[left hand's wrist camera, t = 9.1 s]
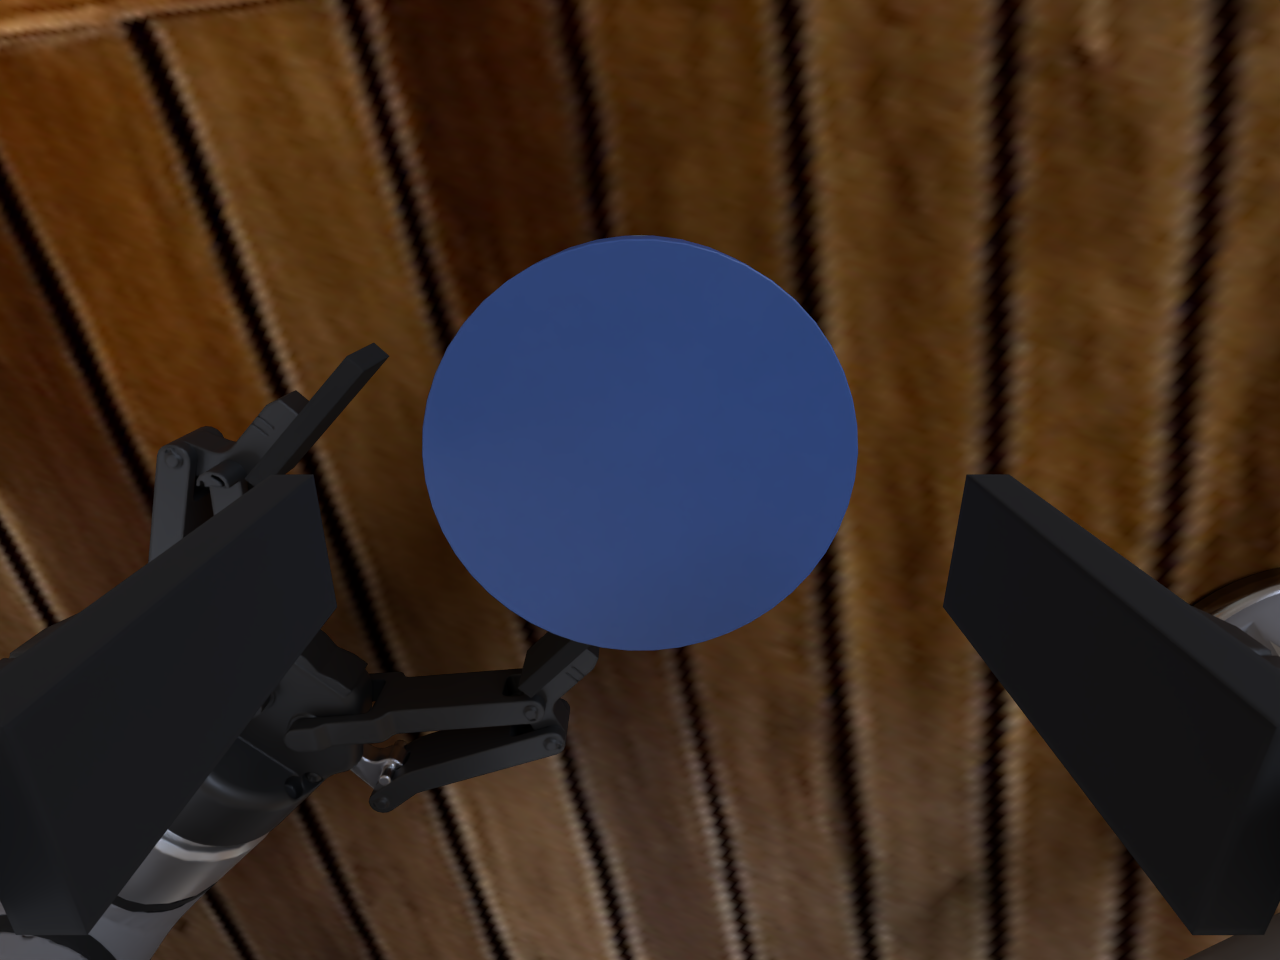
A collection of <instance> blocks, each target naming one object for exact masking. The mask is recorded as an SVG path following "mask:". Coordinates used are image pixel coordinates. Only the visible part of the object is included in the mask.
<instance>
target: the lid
mask: <svg viewBox="0 0 1280 960" xmlns="http://www.w3.org/2000/svg"><path fill="white" fill-rule="evenodd" d="M857 456H858V442H857V422H856V416H855V410H854V404H853V398H852V395H851V392H850V389H849V386H848V383H847V380H846V376H845V373H844V371H843V369H842V367H841V365H840V362H839V360H838V358H837V356H836V354H835V352H834V350H833V348H832V346H831V344H830V343H829V341H828V340H827V339H826V337H825V336H824V334H823V333H822V331H821V330H820V328H819V327H818V325H817V324H816V322H815V321H814V320H813V319H812V318H811V317H810V315H809V314H808V313H807V312H806V311H805V310H804V309H803V308H802V307H801V306H800V304H799V303H798V302H797V301H796V300H795V299H794V298H793V297H791V296H790V295H789V294H788V293H787V292H785V291H784V290H783V289H782V288H781V287H779V286H778V285H777V284H776V283H775V282H773V281H772V280H771V279H769V278H767V277H766V276H764V275H762V274H761V273H759V272H758V271H756V270H754V269H753V268H751V267H749V266H748V265H746V264H744V263H743V262H741V261H739V260H737V259H735V258H733V257H730V256H728V255H726V254H724V253H721V252H719V251H717V250H714V249H712V248H710V247H707V246H703V245H700V244H696V243H692V242H689V241H685V240H682V239H674V238H667V237H659V236H620V237H613V238H606V239H599V240H594V241H591V242H587V243H584V244H581V245H577V246H574V247H570V248H568V249H565V250H563V251H561V252H559V253H556V254H554V255H552V256H550V257H547V258H545V259H543V260H541V261H539V262H537V263H536V264H534V265H532V266H530V267H529V268H527V269H526V270H524V271H522V272H521V273H519V274H518V275H516V276H514V277H513V278H511V279H510V280H508V281H506V282H505V283H504V284H503V285H502V286H501V287H499V288H498V289H497V290H496V291H495V292H493V293H492V294H491V295H490V296H489V297H488V298H486V299H485V300H484V301H483V302H482V303H481V304H480V305H479V307H478V308H477V309H476V310H475V311H474V312H473V313H472V314H471V315H470V317H469V318H468V319H467V320H466V321H465V322H464V323H463V325H462V326H461V328H460V329H459V331H458V332H457V334H456V336H455V337H454V339H453V340H452V342H451V343H450V345H449V346H448V348H447V350H446V352H445V354H444V356H443V358H442V360H441V362H440V365H439V367H438V369H437V371H436V373H435V376H434V379H433V383H432V386H431V389H430V392H429V395H428V399H427V404H426V410H425V416H424V423H423V440H422V457H423V465H424V473H425V481H426V485H427V489H428V493H429V496H430V500H431V504H432V508H433V510H434V512H435V515H436V517H437V520H438V522H439V524H440V527H441V529H442V532H443V533H444V535H445V537H446V539H447V540H448V542H449V544H450V546H451V547H452V549H453V551H454V553H455V554H456V556H457V557H458V558H459V560H460V561H461V562H462V564H463V565H464V566H465V567H466V569H467V570H468V571H469V573H470V574H471V575H472V576H473V577H474V578H475V579H476V580H477V581H478V582H479V583H480V584H481V586H482V587H483V588H484V589H485V590H486V591H487V592H488V593H489V594H491V595H492V596H493V597H494V598H496V599H497V600H498V601H499V602H501V603H502V604H503V605H504V606H506V607H507V608H508V609H509V610H511V611H513V612H514V613H516V614H517V615H519V616H521V617H522V618H524V619H525V620H527V621H528V622H530V623H532V624H534V625H536V626H538V627H540V628H543V629H545V630H547V631H549V632H551V633H553V634H556V635H559V636H561V637H564V638H567V639H570V640H573V641H576V642H580V643H584V644H589V645H593V646H598V647H602V648H611V649H620V650H660V649H669V648H678V647H683V646H687V645H691V644H696V643H700V642H704V641H707V640H710V639H713V638H716V637H718V636H721V635H724V634H727V633H729V632H731V631H733V630H735V629H737V628H740V627H742V626H744V625H746V624H748V623H750V622H752V621H753V620H755V619H756V618H758V617H759V616H761V615H763V614H764V613H766V612H767V611H769V610H770V609H772V608H773V607H775V606H776V605H777V604H778V603H779V602H781V601H782V600H783V599H784V598H786V597H787V596H788V595H789V594H790V593H792V592H793V591H794V590H795V589H796V588H797V587H798V585H799V584H800V583H801V582H802V581H803V580H804V579H805V578H806V577H807V576H808V575H809V574H810V573H811V572H812V570H813V569H814V567H815V566H816V565H817V563H818V562H819V561H820V559H821V558H822V557H823V555H824V554H825V553H826V551H827V549H828V547H829V546H830V544H831V542H832V540H833V539H834V537H835V535H836V533H837V531H838V529H839V527H840V525H841V522H842V520H843V517H844V515H845V512H846V510H847V507H848V504H849V500H850V496H851V492H852V489H853V485H854V481H855V473H856V464H857Z"/></svg>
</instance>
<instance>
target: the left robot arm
mask: <svg viewBox="0 0 1280 960" xmlns="http://www.w3.org/2000/svg"><path fill="white" fill-rule="evenodd" d="M336 608H337V604H336V598H335V593H334V587H333V581H332V576H331V570H330V565H329V559H328V554H327V548H326V542H325V537H324V531H323V526H322V520H321V515H320V509H319V503H318V498H317V492H316V487H315V481H314V475H270V476H268V477H267V478H266V479H264V480H263V481H261V482H260V483H259V484H257V485H256V486H255V487H253V488H252V489H250V490H249V491H248V492H246V493H245V494H243V495H242V496H241V497H239V498H238V499H236V500H235V501H234V502H232V503H231V504H230V505H228V506H227V507H225V508H224V509H223V510H221V511H220V512H218V513H217V514H216V515H214V516H213V517H212V518H210V519H209V520H207V521H206V522H205V523H203V524H202V525H200V526H199V527H198V528H196V529H195V530H194V531H192V532H191V533H189V534H188V535H187V536H185V537H184V538H182V539H181V540H180V541H178V542H177V543H176V544H174V545H173V546H171V547H170V548H169V549H167V550H166V551H164V552H163V553H162V554H160V555H159V556H157V557H156V558H155V559H153V560H152V561H151V562H149V563H148V564H146V565H145V566H144V567H142V568H141V569H139V570H138V571H137V572H135V573H134V574H133V575H131V576H130V577H128V578H127V579H126V580H124V581H123V582H121V583H120V584H119V585H117V586H116V587H115V588H113V589H112V590H110V591H109V592H108V593H106V594H105V595H103V596H102V597H101V598H99V599H98V600H97V601H95V602H94V603H92V604H91V605H90V606H88V607H87V608H85V609H84V610H83V611H81V612H80V613H78V614H76V615H73V616H71V617H69V618H67V619H65V620H63V621H61V622H58V623H56V624H54V625H52V626H50V627H48V628H46V629H44V630H42V631H41V632H40V633H38V634H37V635H35V636H34V637H33V638H31V639H30V640H28V641H27V642H25V643H24V644H23V645H21V646H20V647H18V648H17V649H16V650H14V651H13V652H11V653H10V657H9V658H3V659H1V660H0V902H1V904H2V906H3V908H4V910H5V912H6V915H7V917H8V919H9V921H10V923H11V926H12V928H13V930H14V932H15V934H16V935H88V934H89V932H90V931H91V930H92V928H93V927H94V926H95V924H96V923H97V922H98V921H99V919H100V918H101V917H102V915H103V914H104V913H105V911H106V910H107V909H108V907H109V906H110V905H111V903H112V902H113V901H114V899H115V898H116V897H117V896H118V894H119V893H120V892H121V890H122V889H123V888H124V886H125V885H126V884H127V882H128V881H129V880H130V878H131V877H132V876H133V874H134V873H135V872H136V871H137V869H138V868H139V867H140V865H141V864H142V863H143V861H144V860H145V859H146V857H147V856H148V855H149V853H150V852H151V851H152V849H153V848H154V847H155V846H156V844H157V843H158V842H159V840H160V839H161V838H162V836H163V835H164V834H165V832H166V831H167V830H168V828H169V827H170V826H171V825H172V823H173V822H174V821H175V819H176V818H177V817H178V815H179V814H180V813H181V811H182V810H183V809H184V807H185V806H186V805H187V803H188V802H189V801H190V800H191V798H192V797H193V796H194V794H195V793H196V792H197V790H198V789H199V788H200V786H201V785H202V784H203V782H204V781H205V780H206V778H207V777H208V776H209V775H210V773H211V772H212V771H213V769H214V768H215V767H216V765H217V764H218V763H219V761H220V760H221V759H222V757H223V756H224V755H225V753H226V752H227V751H228V750H229V748H230V747H231V746H232V744H233V743H234V742H235V740H236V739H237V738H238V736H239V735H240V734H241V732H242V731H243V730H244V729H245V727H246V726H247V725H248V723H249V722H250V721H251V719H252V718H253V717H254V715H255V714H256V713H257V711H258V710H259V709H260V707H261V706H262V705H263V704H264V702H265V701H266V700H267V698H268V697H269V696H270V694H271V693H272V692H273V690H274V689H275V688H276V686H277V685H278V684H279V682H280V681H281V680H282V679H283V677H284V676H285V675H286V673H287V672H288V671H289V669H290V668H291V667H292V665H293V664H294V663H295V661H296V660H297V659H298V657H299V656H300V655H301V654H302V652H303V651H304V650H305V648H306V647H307V646H308V644H309V643H310V642H311V640H312V639H313V638H314V636H315V635H316V634H317V632H318V631H319V630H320V629H321V627H322V626H323V625H324V623H325V622H326V621H327V619H328V618H329V617H330V615H331V614H332V613H333V611H334V610H335V609H336ZM943 608H944V609H945V610H946V611H947V613H948V614H949V615H950V617H951V618H952V619H953V621H954V622H955V623H956V625H957V626H958V627H959V629H960V630H961V631H962V632H963V634H964V635H965V636H966V638H967V639H968V640H969V642H970V643H971V644H972V646H973V647H974V648H975V650H976V651H977V652H978V654H979V655H980V656H981V657H982V659H983V660H984V661H985V663H986V664H987V665H988V667H989V668H990V669H991V671H992V672H993V673H994V675H995V676H996V677H997V679H998V680H999V681H1000V682H1001V684H1002V685H1003V686H1004V688H1005V689H1006V690H1007V692H1008V693H1009V694H1010V696H1011V697H1012V698H1013V700H1014V701H1015V702H1016V704H1017V705H1018V706H1019V707H1020V709H1021V710H1022V711H1023V713H1024V714H1025V715H1026V717H1027V718H1028V719H1029V721H1030V722H1031V723H1032V725H1033V726H1034V727H1035V729H1036V730H1037V731H1038V732H1039V734H1040V735H1041V736H1042V738H1043V739H1044V740H1045V742H1046V743H1047V744H1048V746H1049V747H1050V748H1051V750H1052V751H1053V752H1054V753H1055V755H1056V756H1057V757H1058V759H1059V760H1060V761H1061V763H1062V764H1063V765H1064V767H1065V768H1066V769H1067V771H1068V772H1069V773H1070V775H1071V776H1072V777H1073V778H1074V780H1075V781H1076V782H1077V784H1078V785H1079V786H1080V788H1081V789H1082V790H1083V792H1084V793H1085V794H1086V796H1087V797H1088V798H1089V800H1090V801H1091V802H1092V803H1093V805H1094V806H1095V807H1096V809H1097V810H1098V811H1099V813H1100V814H1101V815H1102V817H1103V818H1104V819H1105V821H1106V822H1107V823H1108V825H1109V826H1110V827H1111V828H1112V830H1113V831H1114V832H1115V834H1116V835H1117V836H1118V838H1119V839H1120V840H1121V842H1122V843H1123V844H1124V846H1125V847H1126V848H1127V849H1128V851H1129V852H1130V853H1131V855H1132V856H1133V857H1134V859H1135V860H1136V861H1137V863H1138V864H1139V865H1140V867H1141V868H1142V869H1143V871H1144V872H1145V873H1146V874H1147V876H1148V877H1149V878H1150V880H1151V881H1152V882H1153V884H1154V885H1155V886H1156V888H1157V889H1158V890H1159V892H1160V893H1161V894H1162V896H1163V897H1164V898H1165V899H1166V901H1167V902H1168V903H1169V905H1170V906H1171V907H1172V909H1173V910H1174V911H1175V913H1176V914H1177V915H1178V917H1179V918H1180V919H1181V921H1182V922H1183V923H1184V924H1185V926H1186V927H1187V928H1188V930H1189V931H1190V932H1191V934H1192V935H1234V936H1232V937H1230V938H1228V939H1226V940H1224V941H1221V942H1219V943H1217V944H1215V945H1213V946H1211V947H1209V948H1207V949H1205V950H1203V951H1201V952H1199V953H1197V954H1195V955H1193V956H1191V957H1188V958H1186V959H1184V960H1280V913H1278V914H1276V915H1274V912H1275V910H1276V908H1277V906H1278V904H1279V902H1280V568H1276V569H1271V570H1267V571H1264V572H1261V573H1257V574H1254V575H1251V576H1249V577H1246V578H1243V579H1241V580H1238V581H1236V582H1234V583H1232V584H1229V585H1227V586H1225V587H1223V588H1221V589H1220V590H1218V591H1216V592H1214V593H1212V594H1210V595H1209V596H1207V597H1206V598H1204V599H1203V600H1201V601H1200V602H1198V603H1197V604H1195V605H1194V606H1190V605H1189V604H1188V603H1186V602H1185V601H1183V600H1182V599H1181V598H1179V597H1178V596H1177V595H1175V594H1174V593H1172V592H1171V591H1170V590H1168V589H1167V588H1165V587H1164V586H1163V585H1161V584H1160V583H1159V582H1157V581H1156V580H1154V579H1153V578H1152V577H1150V576H1149V575H1147V574H1146V573H1145V572H1143V571H1142V570H1141V569H1139V568H1138V567H1136V566H1135V565H1134V564H1132V563H1131V562H1129V561H1128V560H1127V559H1125V558H1124V557H1123V556H1121V555H1120V554H1118V553H1117V552H1116V551H1114V550H1113V549H1111V548H1110V547H1109V546H1107V545H1106V544H1104V543H1103V542H1102V541H1100V540H1099V539H1098V538H1096V537H1095V536H1093V535H1092V534H1091V533H1089V532H1088V531H1086V530H1085V529H1084V528H1082V527H1081V526H1080V525H1078V524H1077V523H1075V522H1074V521H1073V520H1071V519H1070V518H1068V517H1067V516H1066V515H1064V514H1063V513H1062V512H1060V511H1059V510H1057V509H1056V508H1055V507H1053V506H1052V505H1050V504H1049V503H1048V502H1046V501H1045V500H1044V499H1042V498H1041V497H1039V496H1038V495H1037V494H1035V493H1034V492H1032V491H1031V490H1030V489H1028V488H1027V487H1025V486H1024V485H1023V484H1021V483H1020V482H1019V481H1017V480H1016V479H1014V478H1013V477H1012V476H1010V475H966V481H965V487H964V492H963V498H962V503H961V509H960V515H959V520H958V526H957V531H956V537H955V542H954V548H953V554H952V559H951V565H950V570H949V576H948V581H947V587H946V593H945V598H944V604H943ZM1273 915H1274V916H1273Z"/></svg>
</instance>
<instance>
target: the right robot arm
mask: <svg viewBox="0 0 1280 960" xmlns="http://www.w3.org/2000/svg"><path fill="white" fill-rule="evenodd" d="M388 357H389V355H387V354H386V353H385V352H384V351H383V350H382V349H381V348H379V347H378V346H377V345H376V344H375V343H372V344H370V345H368V346H366V347H364V348H362V349H360V350H358V351H356V352H354V353H352V354H350V355H348V356H347V357H346V358H345V359H344V360H343V361H342V363H341V364H340V365H339V366H338V367H337V369H336V370H335V371H334V372H333V373H332V375H331V376H330V377H329V378H328V379H327V381H326V382H325V383H324V384H323V385H322V387H321V388H320V389H319V390H318V391H317V393H316V394H315V395H314V396H313V397H312V399H311V400H310V401H308V400H307V399H306V398H305V397H304V396H302V395H301V394H300V393H299V392H297V391H293V392H291V393H289V394H287V395H285V396H283V397H281V398H279V399H277V400H275V401H273V402H271V403H269V404H268V405H266V406H265V408H264V409H263V410H262V411H261V412H260V414H259V415H258V416H257V417H256V419H255V420H254V421H253V423H252V424H251V425H250V426H249V427H248V428H247V430H246V431H245V432H244V433H243V435H242V436H241V437H240V438H239V439H238V441H237V442H234V441H230V440H228V439H225V438H224V437H223V435H222V434H221V433H220V432H219V431H218V430H217V429H215V428H213V427H209V426H205V427H201V428H199V429H197V430H195V431H193V432H191V433H189V434H187V435H185V436H183V437H181V438H179V439H177V440H175V441H173V442H171V443H169V444H167V445H165V446H163V447H162V448H161V449H160V450H159V451H158V454H157V464H156V477H155V489H154V501H153V513H152V526H151V538H150V550H149V562H151V561H152V560H153V559H155V558H156V557H157V556H159V555H160V554H162V553H163V552H164V551H166V550H167V549H169V548H170V547H171V546H173V545H174V544H176V543H177V542H178V541H180V540H181V539H182V538H184V537H185V536H187V535H188V534H189V533H191V532H192V531H194V530H195V529H196V528H198V527H199V526H200V525H202V524H203V523H205V522H206V521H207V520H209V519H210V518H212V517H213V516H214V515H216V514H217V513H218V512H220V511H221V510H223V509H224V508H225V507H227V506H228V505H230V504H231V503H232V502H234V501H235V500H236V499H238V498H239V497H241V496H242V495H243V494H245V493H246V492H248V491H249V490H250V489H252V488H253V487H255V486H256V485H257V484H259V483H260V482H261V481H263V480H264V479H266V478H267V477H268V476H270V475H284V474H286V473H287V472H289V471H290V470H291V469H293V468H294V467H295V466H296V464H297V463H298V462H299V461H300V460H301V459H302V457H303V456H304V455H305V454H306V453H307V452H308V450H309V449H310V448H311V447H312V446H313V445H314V443H315V442H316V441H317V440H318V439H319V438H320V436H321V435H322V434H323V433H324V432H325V431H326V429H327V428H328V427H329V426H330V425H331V424H332V422H333V421H334V420H335V419H336V418H337V417H338V415H339V414H340V413H341V412H342V411H343V410H344V408H345V407H346V406H347V405H348V404H349V403H350V401H351V400H352V399H353V398H354V397H355V396H356V394H357V393H358V392H359V391H360V390H361V389H362V387H363V386H364V385H365V384H366V383H367V382H368V380H369V379H370V378H371V377H372V376H373V375H374V373H375V372H376V371H377V370H378V369H379V368H380V366H381V365H382V364H383V363H384V362H385V361H386V359H387V358H388ZM149 562H148V563H149ZM598 655H599V647H598V646H593V645H589V644H584V643H580V642H576V641H573V640H570V639H567V638H564V637H561V636H559V635H556V634H553V633H551V632H549V631H548V632H547V633H546V634H545V635H544V636H543V637H542V638H541V639H540V640H539V641H537V642H536V643H535V644H534V645H533V646H532V647H531V648H530V649H529V650H528V651H527V654H526V658H525V662H524V666H523V668H521V669H508V670H495V671H482V672H469V673H456V674H443V675H430V676H418V677H406V676H405V675H404V673H402V672H388V673H375V674H369V673H368V672H367V670H366V669H365V668H366V666H367V663H366V662H365V661H363V660H362V659H360V658H359V657H358V656H356V655H355V654H353V653H351V652H349V651H346V650H344V649H342V648H339V647H338V646H336V644H335V643H334V642H333V641H332V640H331V639H330V638H329V636H328V635H327V634H326V633H325V632H323V631H322V630H319V631H318V632H317V634H316V635H315V636H314V638H313V639H312V640H311V642H310V643H309V644H308V646H307V647H306V648H305V650H304V651H303V652H302V654H301V655H300V656H299V657H298V659H297V660H296V661H295V663H294V664H293V665H292V667H291V668H290V669H289V671H288V672H287V673H286V675H285V676H284V677H283V679H282V680H281V681H280V682H279V684H278V685H277V686H276V688H275V689H274V690H273V692H272V693H271V694H270V696H269V697H268V698H267V700H266V701H265V702H264V704H263V705H262V706H261V707H260V709H259V710H258V711H257V713H256V714H255V715H254V717H253V718H252V719H251V721H250V722H249V723H248V725H247V726H246V727H245V729H244V730H243V731H242V732H241V734H240V735H239V736H238V738H237V739H236V740H235V742H234V743H233V744H232V746H231V747H230V748H229V750H228V751H227V752H226V753H225V755H224V756H223V757H222V759H221V760H220V761H219V763H218V764H217V765H216V767H215V768H214V769H213V771H212V772H211V773H210V775H209V776H208V777H207V778H206V780H205V781H204V782H203V784H202V785H201V786H200V788H199V789H198V790H197V792H196V793H195V794H194V796H193V797H192V798H191V800H190V801H189V802H188V803H187V805H186V806H185V807H184V809H183V810H182V811H181V813H180V814H179V815H178V817H177V818H176V819H175V821H174V822H173V823H172V825H171V826H170V827H169V828H168V830H167V831H166V832H165V834H164V835H163V836H162V838H161V839H160V840H159V842H158V843H157V844H156V846H155V847H154V848H153V849H152V851H151V852H150V853H149V855H148V856H147V857H146V859H145V860H144V861H143V863H142V864H141V865H140V867H139V868H138V869H137V871H136V872H135V873H134V874H133V876H132V877H131V878H130V880H129V881H128V882H127V884H126V885H125V886H124V888H123V889H122V890H121V892H120V893H119V894H118V896H117V897H116V898H115V899H114V901H113V902H112V903H111V905H110V906H109V907H108V909H107V910H106V911H105V913H104V914H103V915H102V917H101V918H100V919H99V921H98V922H97V923H96V924H95V926H94V927H93V928H92V930H91V931H90V932H89V934H88V935H16V934H15V932H14V930H13V928H12V926H11V923H10V921H9V919H8V917H7V915H6V912H5V910H4V908H3V906H2V904H1V902H0V960H150V959H151V958H152V956H153V955H154V953H155V952H156V950H157V948H158V947H159V945H160V944H161V942H162V941H163V939H164V938H165V937H166V935H167V934H168V932H169V931H170V930H171V928H172V927H173V926H174V925H175V923H176V922H177V921H178V920H179V919H180V918H181V916H182V915H183V914H184V913H185V912H186V911H187V910H188V909H189V908H190V907H191V906H192V905H193V904H194V903H195V902H196V901H197V900H198V899H199V898H200V897H201V896H202V895H203V894H205V893H206V892H207V891H208V890H209V889H210V888H211V887H212V886H213V885H214V884H215V883H216V882H217V881H218V880H219V879H221V878H222V877H223V876H224V875H225V874H226V873H227V872H228V871H229V870H230V869H231V868H232V867H234V866H235V865H236V864H237V863H238V862H239V861H240V860H241V859H242V858H243V857H244V856H245V855H247V854H248V853H249V852H250V851H251V850H252V849H253V848H254V847H255V846H256V845H257V844H259V843H260V842H261V841H262V840H263V839H264V838H265V837H266V836H267V834H268V833H269V832H270V831H271V830H272V829H274V828H275V827H276V826H277V825H278V824H279V823H280V822H281V821H282V820H283V819H285V818H286V817H287V816H288V815H289V814H290V813H291V812H292V811H293V810H294V809H295V808H296V807H297V806H298V805H299V804H300V803H301V802H302V801H304V800H305V799H306V798H307V797H308V796H309V795H310V794H311V793H312V792H313V791H314V790H315V789H316V788H317V787H318V786H319V785H320V784H321V783H322V782H323V781H324V780H325V779H326V778H328V777H329V776H331V775H333V774H336V773H340V772H345V771H348V770H351V771H352V772H354V773H355V774H356V775H357V776H358V777H360V778H361V779H362V780H363V781H365V782H366V783H367V784H368V785H369V786H371V787H372V788H373V789H374V790H373V792H372V794H371V796H370V799H369V804H370V806H371V807H372V808H373V809H374V810H376V811H377V812H382V813H385V812H389V811H392V810H393V809H394V808H396V807H397V806H399V805H400V804H402V803H403V802H405V801H406V800H408V799H409V798H410V797H412V796H413V795H415V794H416V793H419V792H422V791H426V790H430V789H433V788H437V787H440V786H444V785H448V784H451V783H455V782H458V781H462V780H466V779H469V778H473V777H476V776H480V775H484V774H487V773H491V772H495V771H498V770H502V769H505V768H509V767H513V766H516V765H520V764H523V763H527V762H531V761H534V760H538V759H541V758H545V757H549V756H552V755H556V754H558V753H560V752H562V751H563V749H564V747H565V742H566V735H567V728H568V721H569V713H570V706H569V704H568V703H567V701H565V700H563V699H560V697H561V696H563V695H564V694H565V693H566V692H567V691H568V690H569V689H571V688H572V687H573V686H574V685H575V684H576V683H577V682H578V681H580V680H581V679H582V678H583V677H584V676H585V675H587V674H588V673H589V672H590V671H591V670H592V669H593V668H594V667H595V664H596V662H597V660H598ZM372 701H376V702H375V704H374V706H373V708H372ZM439 730H441V731H439ZM426 731H438V732H434V733H431V734H428V735H425V736H422V737H420V738H418V739H416V740H414V741H412V742H410V743H409V744H407V743H406V742H405V741H403V740H397V741H396V742H395V744H394V745H392V746H389V747H386V748H376V747H374V746H372V745H371V744H369V743H379V742H383V741H385V740H387V739H389V738H390V737H391V736H393V735H395V734H399V733H413V732H426Z"/></svg>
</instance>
